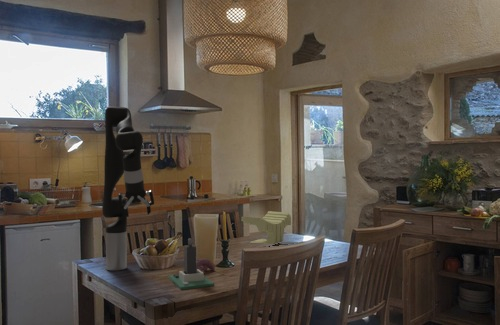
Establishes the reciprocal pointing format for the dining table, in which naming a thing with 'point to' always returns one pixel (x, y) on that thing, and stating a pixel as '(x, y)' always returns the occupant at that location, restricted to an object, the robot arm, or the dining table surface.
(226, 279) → the dining table surface
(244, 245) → the dining table surface
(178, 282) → the circuit board
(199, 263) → the video game controller
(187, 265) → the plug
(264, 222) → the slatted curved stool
